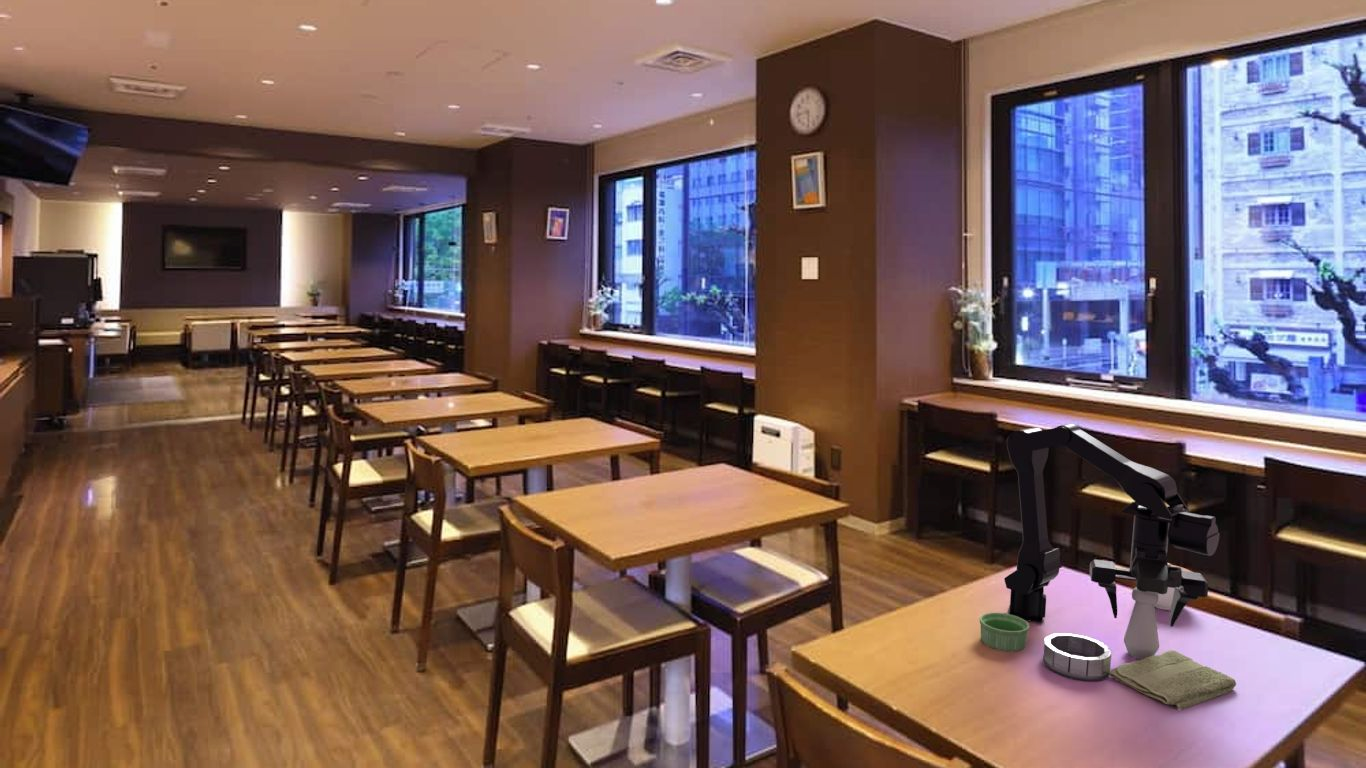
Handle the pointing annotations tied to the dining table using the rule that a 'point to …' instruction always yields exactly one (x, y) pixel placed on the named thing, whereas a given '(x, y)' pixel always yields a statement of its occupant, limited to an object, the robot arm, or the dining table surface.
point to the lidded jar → (1167, 595)
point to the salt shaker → (1142, 626)
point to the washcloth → (1174, 679)
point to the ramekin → (1003, 631)
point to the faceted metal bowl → (1077, 657)
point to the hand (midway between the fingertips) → (1142, 621)
